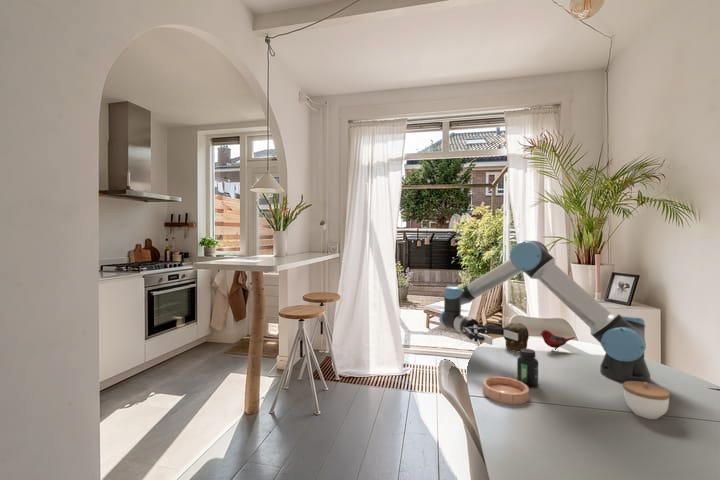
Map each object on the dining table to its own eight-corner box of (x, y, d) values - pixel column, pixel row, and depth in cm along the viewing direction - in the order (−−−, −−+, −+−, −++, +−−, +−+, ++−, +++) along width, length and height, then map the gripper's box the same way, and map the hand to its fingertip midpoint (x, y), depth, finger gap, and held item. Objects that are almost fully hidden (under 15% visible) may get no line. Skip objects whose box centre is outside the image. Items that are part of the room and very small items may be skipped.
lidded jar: (679, 425, 96) (679, 392, 96) (635, 421, 98) (635, 388, 98) (654, 407, 106) (654, 377, 106) (615, 403, 108) (615, 374, 108)
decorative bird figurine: (538, 350, 160) (538, 329, 160) (573, 349, 162) (573, 328, 162) (542, 352, 157) (542, 330, 157) (577, 351, 159) (577, 329, 159)
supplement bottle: (525, 388, 119) (525, 354, 119) (513, 380, 126) (513, 348, 126) (542, 387, 120) (542, 353, 120) (529, 379, 127) (529, 347, 127)
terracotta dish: (536, 395, 114) (536, 386, 114) (515, 408, 105) (515, 398, 105) (496, 381, 125) (496, 373, 125) (475, 392, 116) (475, 383, 116)
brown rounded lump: (529, 347, 165) (530, 322, 165) (527, 353, 155) (527, 327, 155) (505, 343, 170) (505, 319, 170) (501, 349, 161) (501, 324, 161)
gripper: (487, 331, 157) (527, 345, 137) (443, 337, 147) (479, 352, 127) (488, 314, 157) (527, 326, 137) (444, 319, 146) (480, 332, 127)
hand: (504, 339), depth 132 cm, fingers open, 13 cm apart
